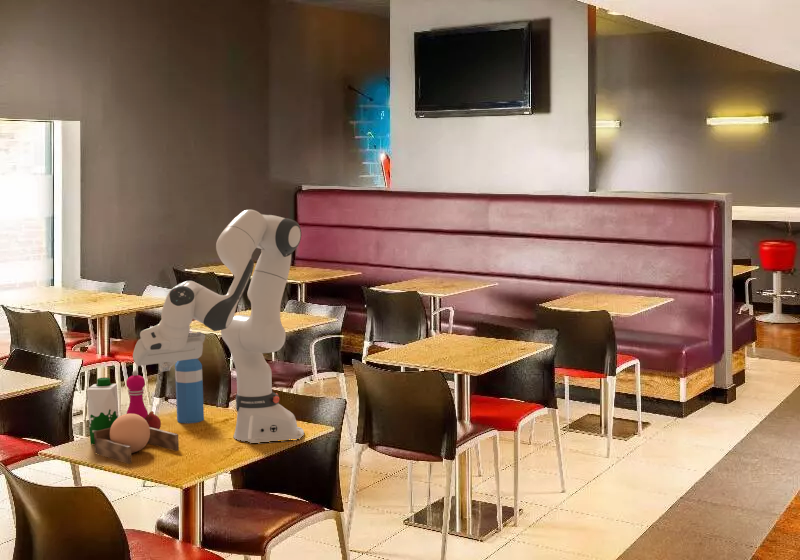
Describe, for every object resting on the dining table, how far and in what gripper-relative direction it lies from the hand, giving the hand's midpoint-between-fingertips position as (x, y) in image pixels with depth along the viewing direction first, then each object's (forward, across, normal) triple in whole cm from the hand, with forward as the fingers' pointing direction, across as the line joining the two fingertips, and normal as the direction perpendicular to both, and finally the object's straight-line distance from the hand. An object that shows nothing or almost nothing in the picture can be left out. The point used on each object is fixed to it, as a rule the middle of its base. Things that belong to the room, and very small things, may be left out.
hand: (164, 369), depth 307 cm
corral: (+30, +5, +5) cm, 31 cm away
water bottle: (+47, -24, -18) cm, 55 cm away
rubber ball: (+26, +7, 0) cm, 26 cm away
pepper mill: (+46, -4, -17) cm, 49 cm away
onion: (+40, -6, -9) cm, 41 cm away
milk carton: (+41, +10, -10) cm, 43 cm away
